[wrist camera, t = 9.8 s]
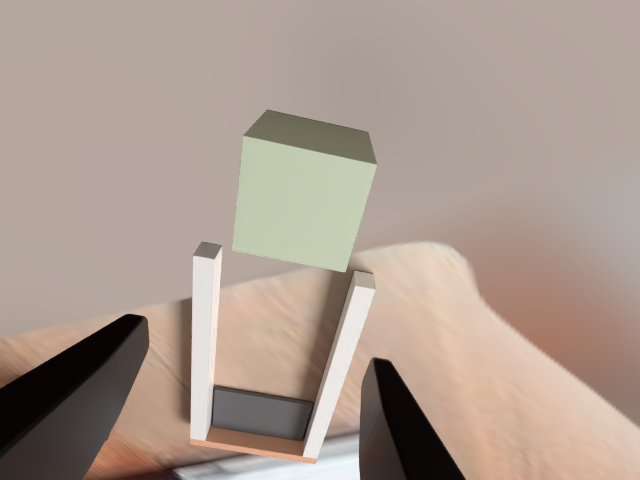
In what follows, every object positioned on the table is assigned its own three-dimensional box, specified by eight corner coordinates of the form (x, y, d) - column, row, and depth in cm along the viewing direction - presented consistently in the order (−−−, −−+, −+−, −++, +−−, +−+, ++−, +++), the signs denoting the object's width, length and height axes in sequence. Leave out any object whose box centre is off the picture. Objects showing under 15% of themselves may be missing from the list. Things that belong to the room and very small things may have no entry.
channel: (196, 421, 30) (190, 438, 29) (202, 241, 21) (192, 255, 20) (318, 440, 31) (316, 458, 29) (373, 274, 22) (375, 289, 20)
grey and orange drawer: (196, 426, 30) (190, 444, 29) (198, 383, 28) (190, 400, 26) (316, 445, 31) (315, 463, 30) (329, 405, 28) (329, 423, 27)
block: (256, 202, 20) (232, 250, 15) (267, 109, 17) (242, 135, 13) (344, 220, 20) (345, 272, 16) (368, 131, 17) (377, 164, 13)
